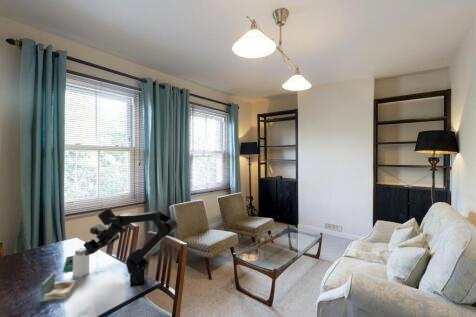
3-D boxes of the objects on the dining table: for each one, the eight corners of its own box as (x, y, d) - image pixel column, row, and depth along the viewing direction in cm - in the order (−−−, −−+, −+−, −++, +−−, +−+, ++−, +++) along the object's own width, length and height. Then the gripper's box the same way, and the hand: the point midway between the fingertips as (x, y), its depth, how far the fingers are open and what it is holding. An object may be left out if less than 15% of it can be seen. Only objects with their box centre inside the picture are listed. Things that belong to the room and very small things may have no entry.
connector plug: (89, 272, 125) (89, 248, 124) (81, 277, 120) (81, 252, 119) (81, 271, 125) (81, 247, 125) (72, 276, 121) (72, 251, 120)
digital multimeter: (63, 273, 124) (63, 267, 124) (66, 261, 137) (66, 256, 137) (79, 269, 128) (79, 264, 128) (81, 258, 141) (81, 253, 141)
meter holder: (76, 284, 113) (76, 270, 112) (68, 297, 103) (68, 281, 103) (52, 288, 110) (52, 273, 110) (41, 301, 100) (41, 284, 100)
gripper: (114, 215, 129) (97, 233, 131) (87, 225, 110) (67, 246, 113) (127, 230, 127) (109, 248, 130) (101, 243, 109) (81, 264, 111)
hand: (92, 251), depth 121 cm, fingers open, 9 cm apart
